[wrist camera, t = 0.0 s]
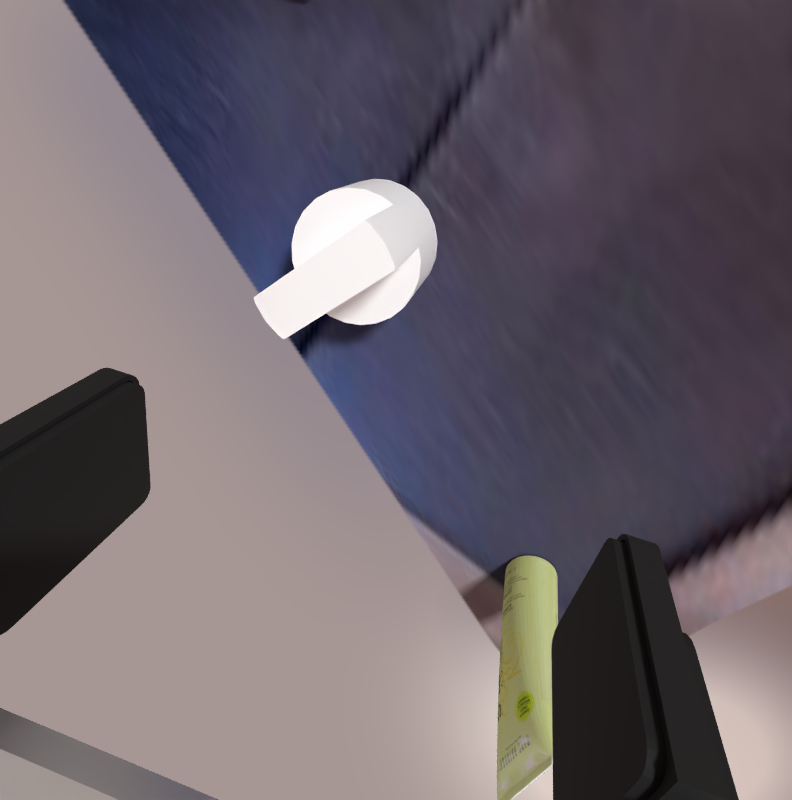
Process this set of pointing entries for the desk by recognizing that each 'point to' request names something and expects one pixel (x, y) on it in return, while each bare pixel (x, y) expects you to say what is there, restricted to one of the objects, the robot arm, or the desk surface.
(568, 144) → the desk surface
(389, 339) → the desk surface
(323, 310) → the cylinder with rectangular tab
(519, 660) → the tube
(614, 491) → the desk surface
